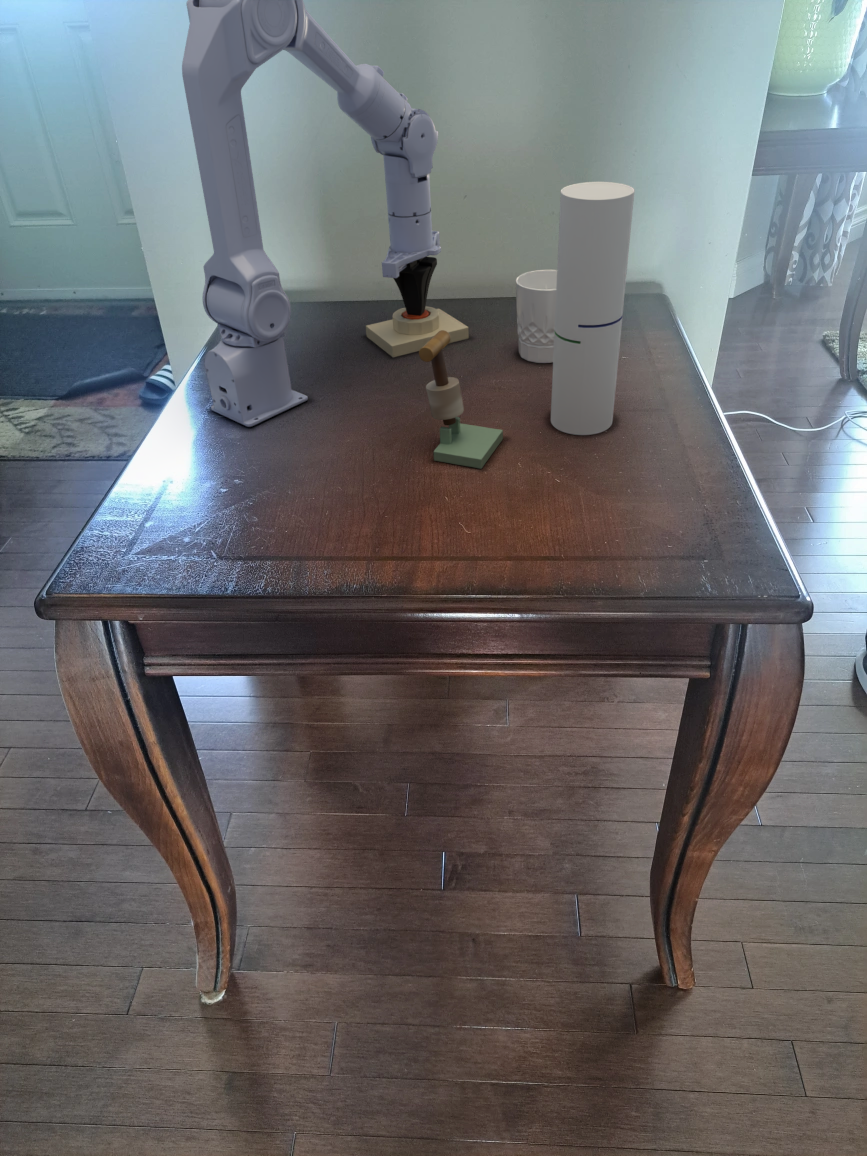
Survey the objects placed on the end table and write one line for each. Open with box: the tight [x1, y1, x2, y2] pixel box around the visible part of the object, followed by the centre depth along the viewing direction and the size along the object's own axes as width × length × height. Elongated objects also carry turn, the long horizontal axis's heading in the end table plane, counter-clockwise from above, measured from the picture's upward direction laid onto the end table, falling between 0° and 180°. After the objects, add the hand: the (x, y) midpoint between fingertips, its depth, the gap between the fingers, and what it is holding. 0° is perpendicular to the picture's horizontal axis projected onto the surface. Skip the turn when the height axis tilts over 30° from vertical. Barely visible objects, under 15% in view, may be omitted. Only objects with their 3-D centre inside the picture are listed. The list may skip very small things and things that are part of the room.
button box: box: [365, 305, 470, 358], centre depth 118 cm, size 12×9×4 cm
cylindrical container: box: [550, 181, 635, 436], centre depth 89 cm, size 7×7×25 cm
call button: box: [403, 310, 429, 320], centre depth 117 cm, size 4×4×2 cm
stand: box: [433, 416, 504, 470], centre depth 92 cm, size 6×7×3 cm
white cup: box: [515, 269, 557, 364], centre depth 109 cm, size 8×8×10 cm
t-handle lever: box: [418, 330, 465, 426], centre depth 89 cm, size 10×5×4 cm
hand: (415, 313), depth 117 cm, fingers closed, pressing on call button
